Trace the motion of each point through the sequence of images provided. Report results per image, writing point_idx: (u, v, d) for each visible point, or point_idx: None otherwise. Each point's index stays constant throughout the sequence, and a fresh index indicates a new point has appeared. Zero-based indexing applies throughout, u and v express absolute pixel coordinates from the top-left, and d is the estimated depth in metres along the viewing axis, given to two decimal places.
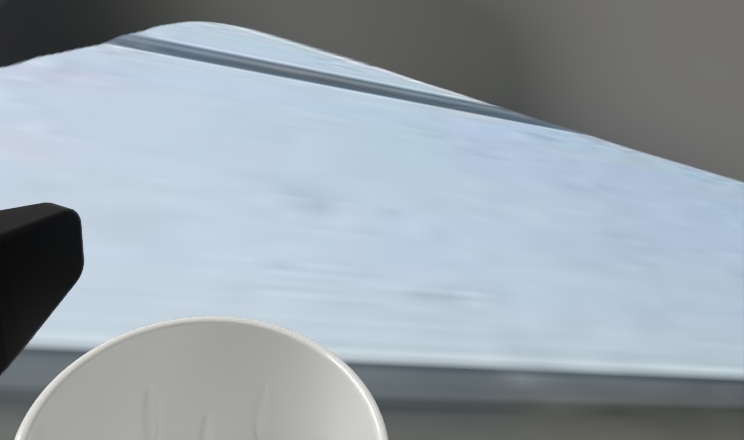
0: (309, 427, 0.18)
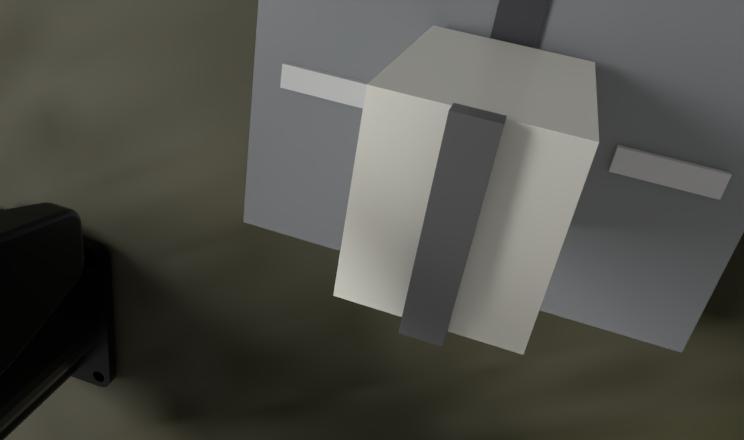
0: None
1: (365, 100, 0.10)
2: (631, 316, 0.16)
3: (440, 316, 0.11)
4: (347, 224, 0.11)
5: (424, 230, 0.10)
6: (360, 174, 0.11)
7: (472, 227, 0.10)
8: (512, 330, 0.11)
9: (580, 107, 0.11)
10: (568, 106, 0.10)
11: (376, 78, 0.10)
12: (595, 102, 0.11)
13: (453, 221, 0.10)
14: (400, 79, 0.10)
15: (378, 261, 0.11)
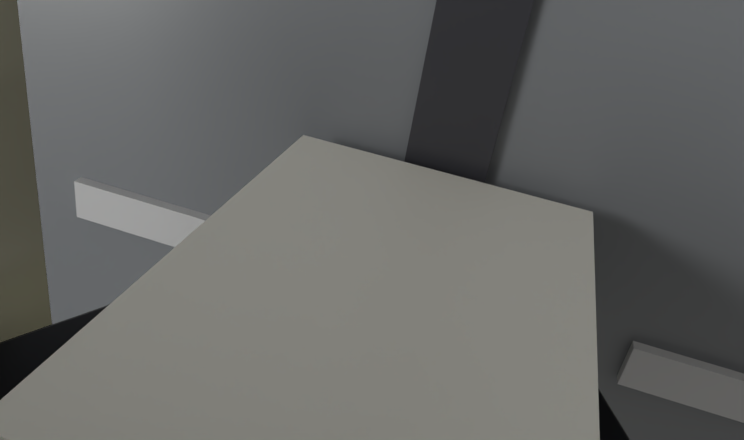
0: None
1: None
2: None
3: None
4: None
5: None
6: None
7: None
8: None
9: (557, 422, 0.04)
10: (527, 427, 0.04)
11: (30, 381, 0.04)
12: (594, 387, 0.05)
13: None
14: (102, 372, 0.04)
15: None
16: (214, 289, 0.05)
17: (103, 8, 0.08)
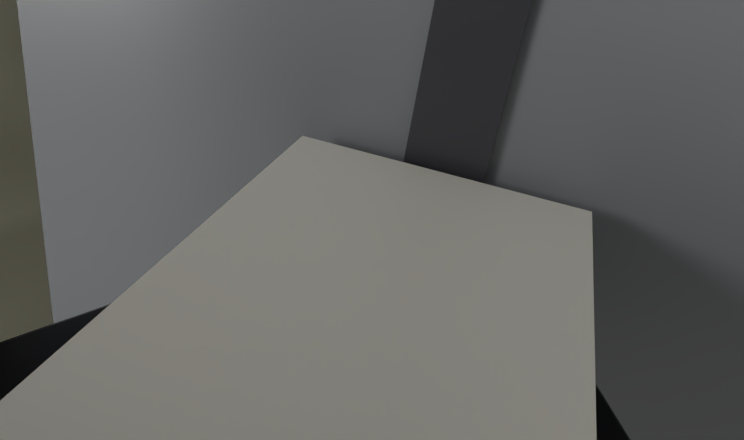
0: None
1: None
2: None
3: None
4: None
5: None
6: None
7: None
8: None
9: (554, 422, 0.04)
10: (525, 428, 0.04)
11: (29, 383, 0.04)
12: (591, 388, 0.05)
13: None
14: (100, 374, 0.04)
15: None
16: (212, 291, 0.05)
17: None
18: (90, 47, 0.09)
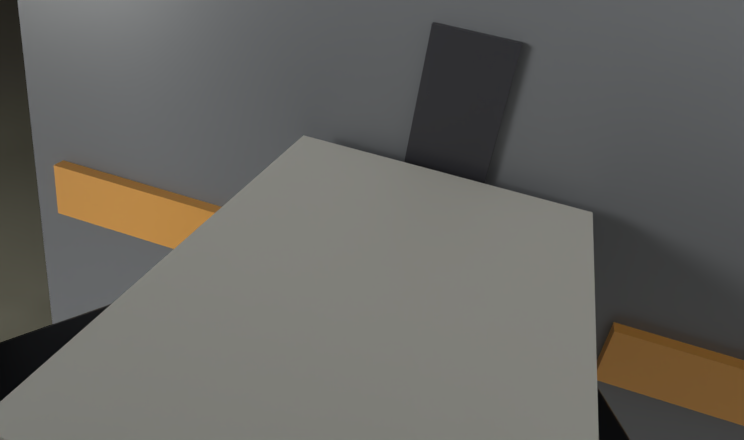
0: None
1: None
2: None
3: None
4: None
5: None
6: None
7: None
8: None
9: (556, 423, 0.04)
10: (526, 427, 0.04)
11: (32, 382, 0.04)
12: (593, 388, 0.05)
13: None
14: (103, 373, 0.04)
15: None
16: (214, 290, 0.05)
17: None
18: None
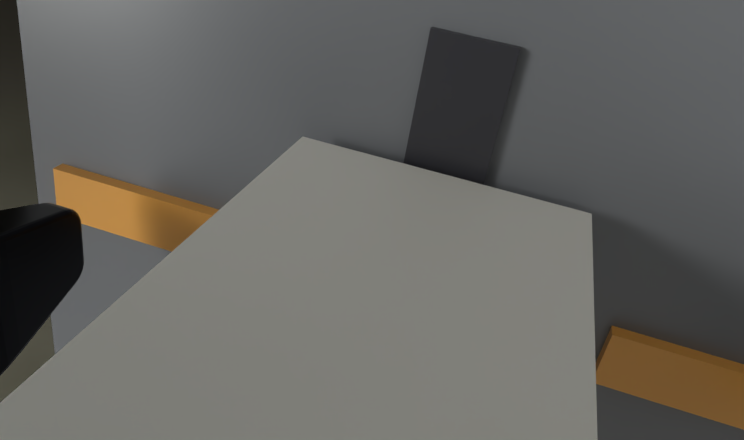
0: None
1: None
2: None
3: None
4: None
5: None
6: None
7: None
8: None
9: (555, 425, 0.04)
10: (526, 430, 0.04)
11: (31, 383, 0.04)
12: (592, 390, 0.05)
13: None
14: (102, 375, 0.04)
15: None
16: (213, 292, 0.05)
17: None
18: None
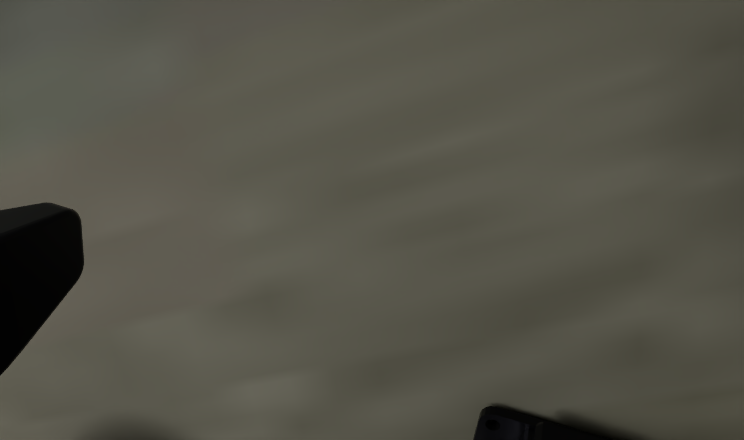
0: None
1: None
2: None
3: None
4: None
5: None
6: None
7: None
8: None
9: None
10: None
11: None
12: None
13: None
14: None
15: None
16: None
17: None
18: None
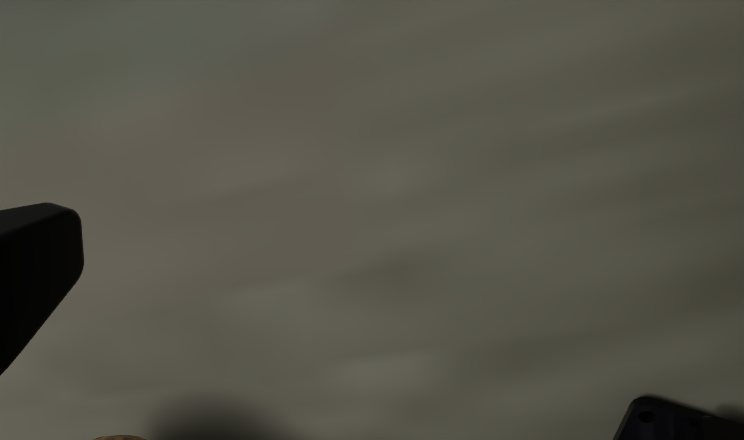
0: None
1: None
2: None
3: None
4: None
5: None
6: None
7: None
8: None
9: None
10: None
11: None
12: None
13: None
14: None
15: None
16: None
17: None
18: None
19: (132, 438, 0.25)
